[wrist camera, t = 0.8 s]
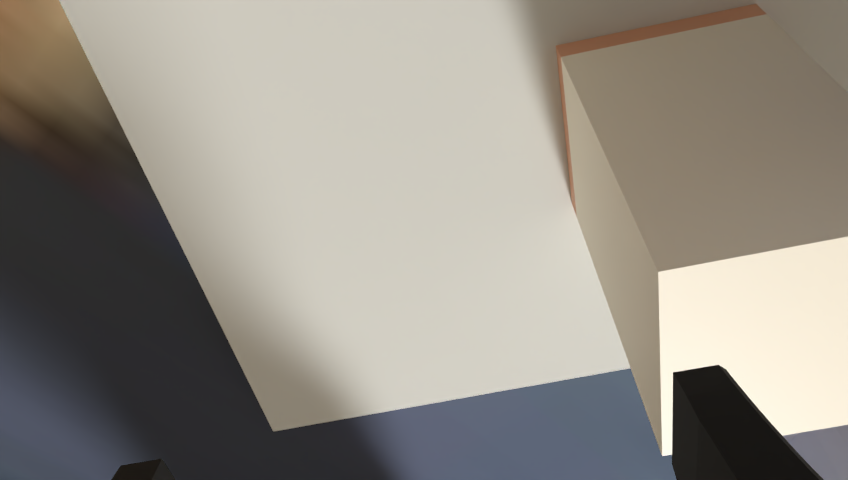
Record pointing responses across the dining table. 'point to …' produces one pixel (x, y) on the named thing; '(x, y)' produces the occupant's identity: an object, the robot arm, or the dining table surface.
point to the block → (716, 209)
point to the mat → (382, 182)
